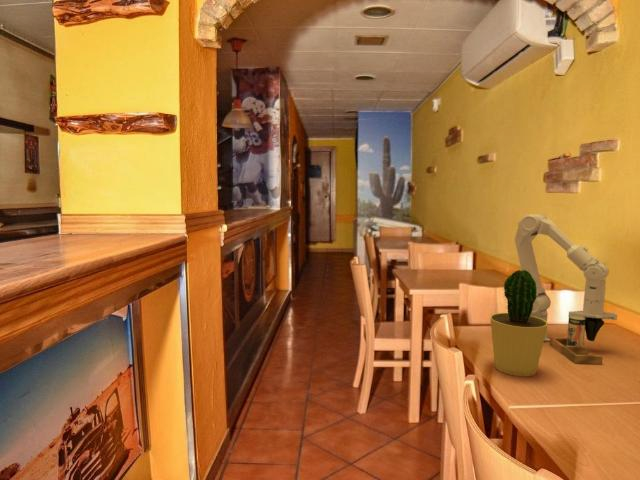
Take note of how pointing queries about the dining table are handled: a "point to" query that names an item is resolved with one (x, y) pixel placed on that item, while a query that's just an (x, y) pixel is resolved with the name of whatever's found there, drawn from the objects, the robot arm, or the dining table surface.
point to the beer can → (576, 331)
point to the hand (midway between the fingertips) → (590, 340)
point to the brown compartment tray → (575, 352)
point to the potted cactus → (518, 328)
